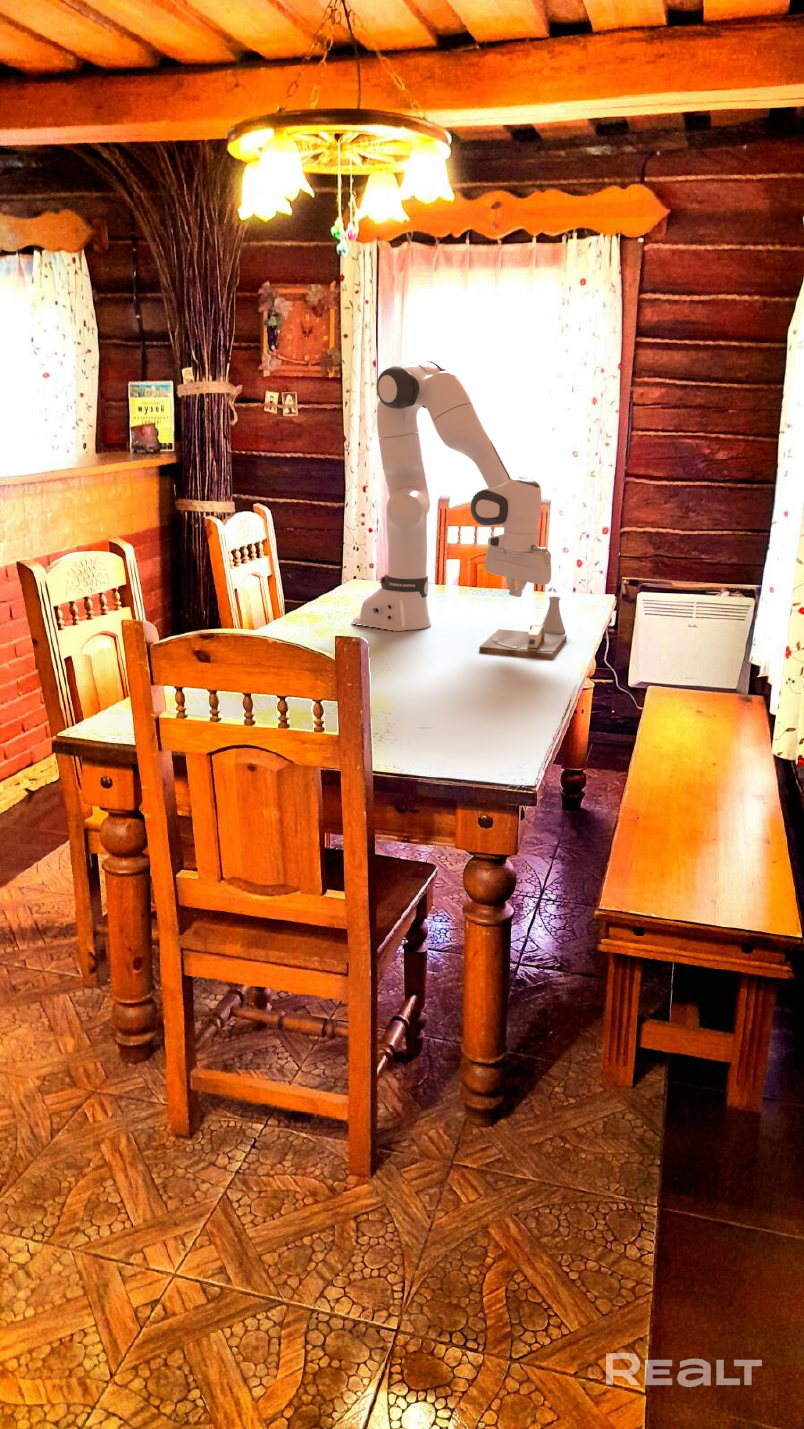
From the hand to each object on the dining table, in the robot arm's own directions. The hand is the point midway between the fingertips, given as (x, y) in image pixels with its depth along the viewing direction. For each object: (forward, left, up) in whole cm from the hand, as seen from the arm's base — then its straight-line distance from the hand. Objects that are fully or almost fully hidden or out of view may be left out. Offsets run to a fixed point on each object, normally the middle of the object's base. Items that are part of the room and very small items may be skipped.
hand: (515, 595), depth 271 cm
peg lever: (+6, 0, -12) cm, 14 cm away
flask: (+6, +23, -14) cm, 28 cm away
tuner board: (+2, +3, -14) cm, 15 cm away
